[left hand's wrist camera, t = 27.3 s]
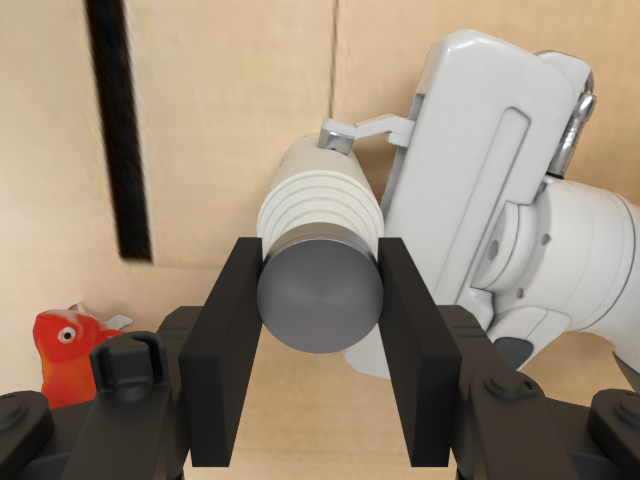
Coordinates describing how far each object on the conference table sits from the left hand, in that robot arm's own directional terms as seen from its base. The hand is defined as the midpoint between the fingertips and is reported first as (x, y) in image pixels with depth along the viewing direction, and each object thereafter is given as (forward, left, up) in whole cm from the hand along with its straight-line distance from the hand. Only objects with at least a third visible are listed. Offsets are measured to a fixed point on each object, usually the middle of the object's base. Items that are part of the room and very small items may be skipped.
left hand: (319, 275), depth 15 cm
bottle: (0, 0, -17) cm, 17 cm away
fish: (-3, -22, -17) cm, 28 cm away
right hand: (-1, 0, -11) cm, 11 cm away
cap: (0, 0, +1) cm, 1 cm away
